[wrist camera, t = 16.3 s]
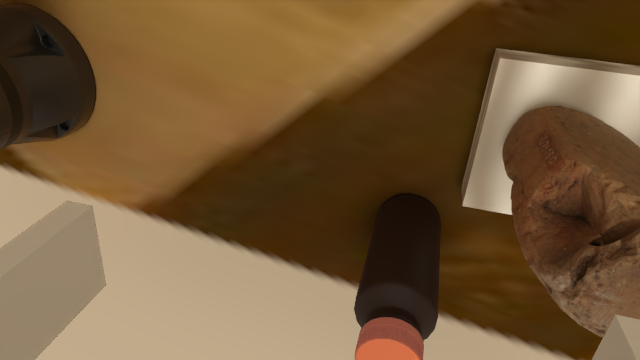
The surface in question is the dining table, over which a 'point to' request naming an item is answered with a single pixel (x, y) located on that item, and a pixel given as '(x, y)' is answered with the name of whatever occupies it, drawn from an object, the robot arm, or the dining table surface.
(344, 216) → the dining table surface
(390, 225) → the bottle
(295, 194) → the dining table surface
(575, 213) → the brown river rock
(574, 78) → the platform
